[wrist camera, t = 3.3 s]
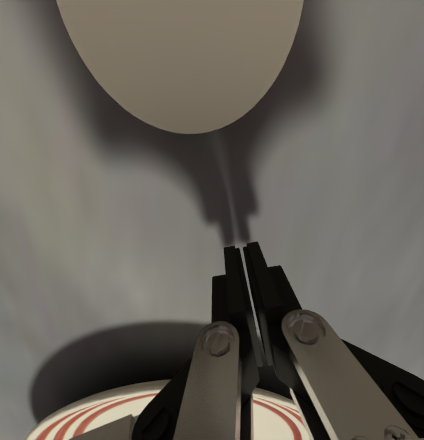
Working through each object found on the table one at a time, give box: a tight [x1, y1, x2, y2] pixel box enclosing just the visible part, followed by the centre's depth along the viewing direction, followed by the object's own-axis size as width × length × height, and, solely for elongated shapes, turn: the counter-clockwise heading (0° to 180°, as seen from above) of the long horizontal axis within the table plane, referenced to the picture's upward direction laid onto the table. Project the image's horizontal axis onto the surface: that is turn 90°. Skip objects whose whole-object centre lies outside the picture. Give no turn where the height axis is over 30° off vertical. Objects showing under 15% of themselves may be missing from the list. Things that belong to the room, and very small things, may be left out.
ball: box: [56, 0, 304, 134], centre depth 6 cm, size 6×6×6 cm
